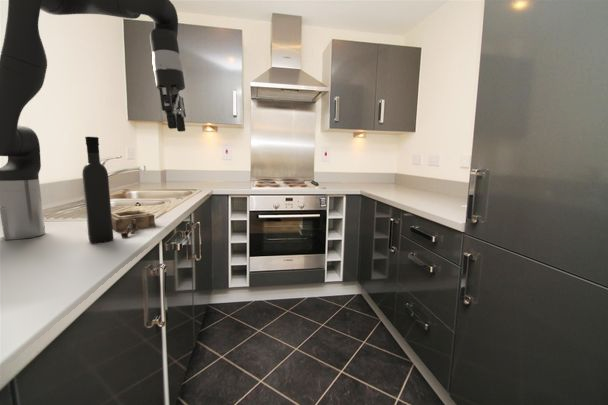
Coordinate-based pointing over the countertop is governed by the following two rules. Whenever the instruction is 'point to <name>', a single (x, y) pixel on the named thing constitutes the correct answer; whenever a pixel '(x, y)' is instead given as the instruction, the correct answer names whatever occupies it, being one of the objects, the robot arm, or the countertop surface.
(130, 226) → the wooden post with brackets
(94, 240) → the wine bottle
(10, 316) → the countertop surface
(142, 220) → the square wooden picture frame
